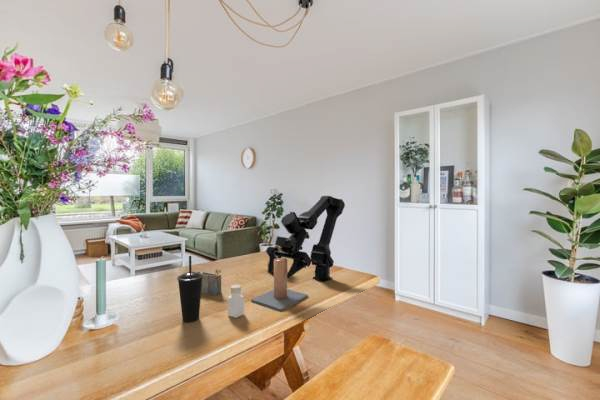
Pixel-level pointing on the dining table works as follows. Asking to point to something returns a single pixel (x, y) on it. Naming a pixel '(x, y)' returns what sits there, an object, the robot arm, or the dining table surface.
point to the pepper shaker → (235, 302)
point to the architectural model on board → (211, 283)
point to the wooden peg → (280, 278)
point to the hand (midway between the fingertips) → (277, 275)
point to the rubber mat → (278, 304)
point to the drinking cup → (190, 294)
